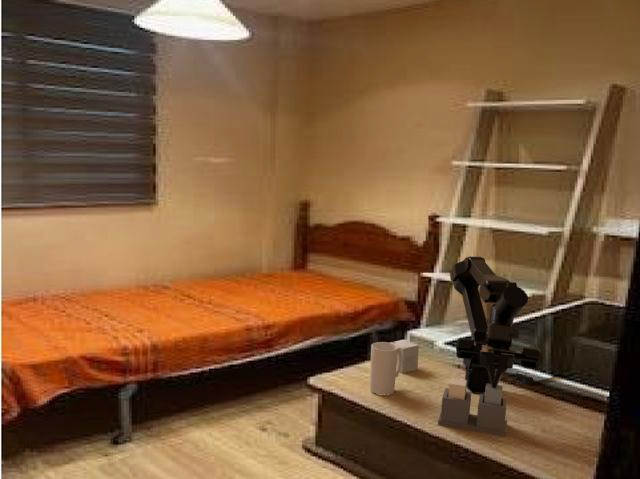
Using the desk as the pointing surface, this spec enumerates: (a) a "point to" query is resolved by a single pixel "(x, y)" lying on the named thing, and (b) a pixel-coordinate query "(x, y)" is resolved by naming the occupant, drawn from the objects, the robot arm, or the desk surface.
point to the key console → (484, 421)
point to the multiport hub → (524, 379)
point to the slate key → (493, 395)
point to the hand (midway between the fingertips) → (494, 387)
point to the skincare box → (408, 355)
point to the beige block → (457, 388)
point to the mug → (384, 367)
